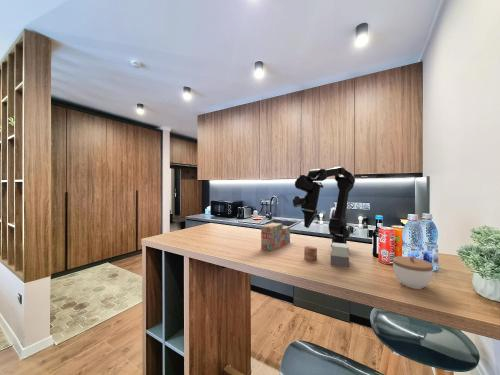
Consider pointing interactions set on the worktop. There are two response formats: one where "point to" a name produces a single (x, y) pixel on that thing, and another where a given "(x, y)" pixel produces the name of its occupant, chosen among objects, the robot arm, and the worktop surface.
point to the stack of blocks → (274, 236)
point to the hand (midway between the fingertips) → (306, 227)
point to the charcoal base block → (340, 260)
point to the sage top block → (340, 249)
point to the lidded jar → (412, 271)
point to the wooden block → (310, 253)
